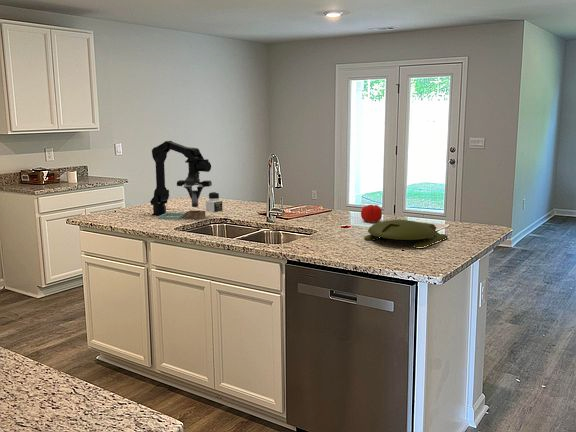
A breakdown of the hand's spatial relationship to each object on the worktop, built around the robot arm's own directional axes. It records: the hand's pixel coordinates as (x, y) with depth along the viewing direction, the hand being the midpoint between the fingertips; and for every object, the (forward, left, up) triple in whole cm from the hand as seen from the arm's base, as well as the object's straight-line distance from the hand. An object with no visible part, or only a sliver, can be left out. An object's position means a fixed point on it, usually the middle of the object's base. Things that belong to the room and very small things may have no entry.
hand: (194, 198), depth 320 cm
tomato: (+98, +7, -12) cm, 99 cm away
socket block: (0, 0, -12) cm, 12 cm away
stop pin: (0, 0, -4) cm, 4 cm away
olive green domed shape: (+114, -36, -12) cm, 121 cm away
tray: (-13, -3, -12) cm, 17 cm away
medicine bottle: (+4, +22, -12) cm, 25 cm away
